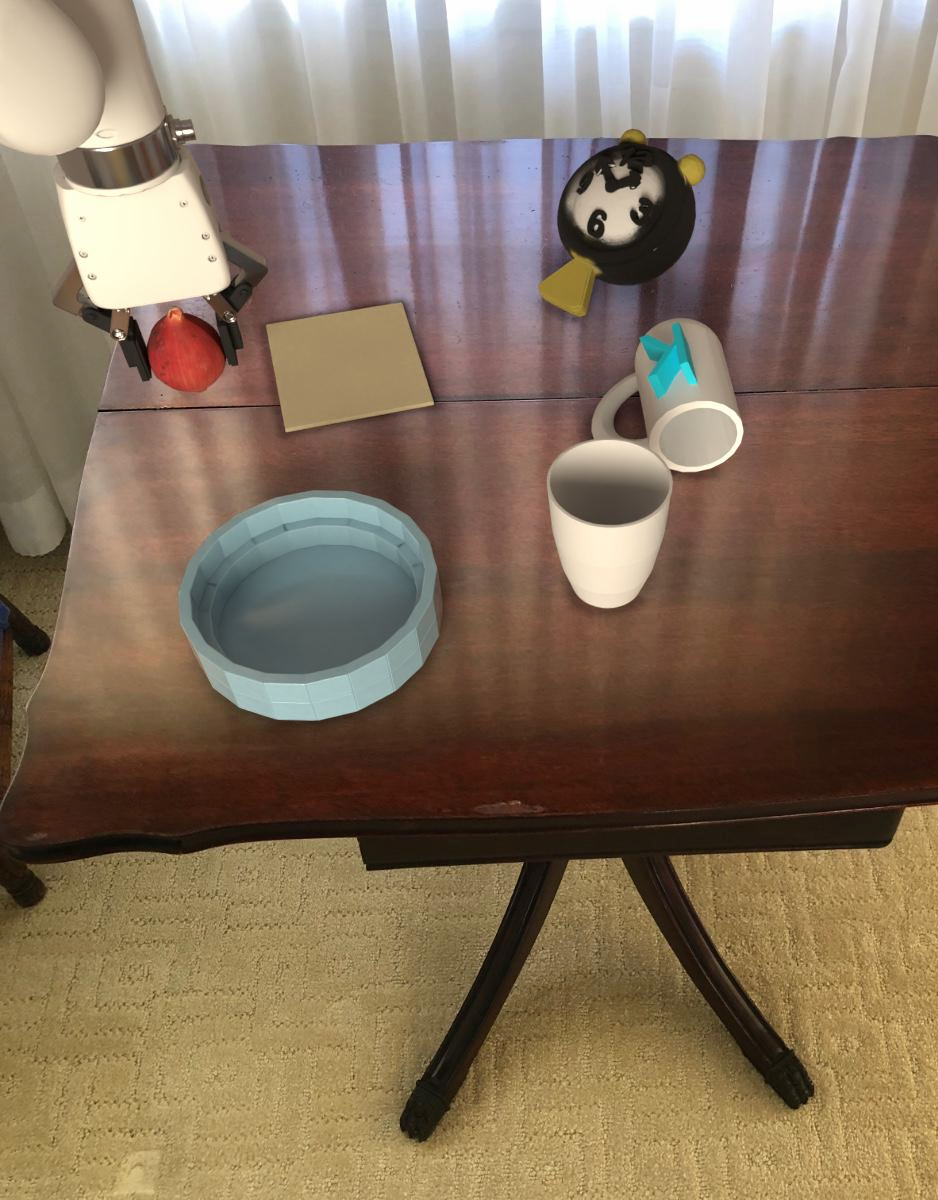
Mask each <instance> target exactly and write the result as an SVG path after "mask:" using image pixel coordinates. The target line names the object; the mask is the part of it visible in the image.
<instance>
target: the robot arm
mask: <svg viewBox="0 0 938 1200" xmlns="http://www.w3.org/2000/svg"><path fill="white" fill-rule="evenodd" d="M153 67H154V66H153V64H152V60H151V57H150V54H149V50H148V47H147V43H146V40H145V36H144V34H143V30H142V27H141V23H140V20H139V17H138V13H137V10H136V7H135V3H134V0H0V145H2V146H5V147H7V148H10V149H12V150H15V151H18V152H21V153H23V154H26V155H27V154H28V155H33V156H44V157H49V156H56V159H57V163H56V164H55V165H54V167H53V177H54V185H55V188H56V193H57V199H58V204H59V208H60V212H61V213H60V214H61V217H62V220H63V224H64V228H65V232H66V235H67V238H68V241H69V244H70V245H69V246H70V248H71V251H72V254H73V257H72V258H71V261H70V262H69V264H68V266H67V267H66V269H64V272H62V274H61V276H60V278H59V279H58V281H57V282H56V283H55V285H54V287H52V290H51V294H52V295H51V302H52V303H51V304H52V305H53V306H54V307H56V308H58V309H60V310H62V311H65V312H67V313H69V314H70V315H73V316H75V317H80V318H82V321H84V323H86V324H89V325H91V326H93V327H94V328H95V327H96V328H97V329H99V330H101V331H104V332H106V333H108V334H109V335H110V338H111V339H112V340H114V341H116V342H118V343H119V347H120V348H121V349H120V350H121V351H122V353H123V356H124V358H125V361H126V364H127V366H128V368H129V369H130V368H137V371H138V374H139V377H140V379H141V382H143V383H144V382H150V380H151V379H153V375H152V373H153V372H152V369H151V367H150V364H149V361H148V357H147V352H146V350H147V343H146V341H145V339H144V337H143V334H142V332H141V328H140V325H139V323H138V319H136V318H135V319H134V315H131V308H137V307H144V306H150V305H156V304H162V303H170V302H175V301H181V300H187V299H194V298H199V297H200V298H201V297H202V298H203V300H204V301H205V302H206V303H207V304H208V305H209V307H211V309H212V310H213V311H214V315H215V323H216V328H217V332H218V334H219V336H220V338H221V342H222V345H223V348H224V351H225V355H226V362H227V365H228V366H231V367H236V366H239V358H238V353H237V351H238V350H243V349H245V345H244V340H243V337H242V333H241V330H240V326H239V323H238V313H239V312H241V310H242V308H243V307H244V306H245V304H246V303H247V302H248V301H249V299H250V298H251V297H252V295H253V291H254V290H255V289H256V288H257V287H258V286H259V285H260V284H261V283H262V282H263V280H264V279H265V277H267V275H268V274H269V266H268V261H267V258H266V257H264V256H263V255H261V254H260V253H258V252H256V251H254V250H253V249H251V248H250V247H249V246H247V245H244V244H243V243H241V242H240V241H238V240H237V239H234V238H233V237H231V236H230V235H228V234H227V233H225V232H223V229H222V226H221V224H220V220H219V217H218V214H217V211H216V208H215V206H214V202H213V200H212V197H211V194H210V192H209V189H208V186H207V184H206V182H205V179H204V177H203V175H202V173H201V171H200V168H199V165H198V164H197V162H196V160H195V158H194V156H193V154H192V152H191V151H190V149H189V147H187V146H186V142H191V141H196V140H197V136H196V131H195V128H194V123H193V119H191V118H188V119H181V120H180V118H174V117H173V114H172V113H170V114H169V113H168V111H167V106H166V105H165V104H164V101H163V98H162V95H161V91H160V88H159V84H158V80H157V77H156V74H155V70H154V68H153ZM229 263H231V264H233V265H234V266H236V267H238V268H240V269H241V270H240V272H239V273H237V274H236V275H235V276H234V277H233V278H232V276H231V271H230V269H231V268H230V264H229ZM83 287H84V289H85V291H86V293H87V295H88V297H87V296H86V295H85V294H83V293H81V290H82V289H83Z"/></svg>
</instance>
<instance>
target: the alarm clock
mask: <svg viewBox="0 0 938 1200" xmlns="http://www.w3.org/2000/svg"><path fill="white" fill-rule="evenodd" d="M706 170H707V167H706V164H705V161H704V160H703V159H702V158H701V157H700V156H698V155H697V154H694V153H688V154H684V155H683V156H682V157H680V158H679V160H678V159H675V157H674V156H673V155H672V154H670V153H668V152H667V151H666V150H663V149H661V148H659V147H656V146H652V145H649V144H648V138H647V136H646V135H645V134H644V132H643V131H642V130H640V129H638V128H629V129H627V130H625V131H624V132H623V134H621V137H620V138H619V140H618V144H615V145H613V146H609V147H606V148H604V149H602V150H600V151H597V152H596V153H595V154H594V155H592V156H590V157H589V158H588V159H585V161H584V162H583V163H582V164H580V166H579V167H577V169H576V170H575V171H574V172H573V173H572V174H571V176H570V177H569V179H568V181H567V183H566V184H565V186H564V188H563V190H562V193H561V196H560V198H559V201H558V202H559V203H558V207H557V215H556V219H557V220H556V225H557V226H556V227H557V231H558V236H559V240H560V242H561V244H562V246H563V248H564V250H566V252H567V254H568V255H569V256H570V258H571V260H570V261H568V262H567V263H566V264H564V265H563V266H561V267H560V268H559V269H557V270H556V271H555V272H553V273H552V274H551V275H549V276H548V277H546V278H545V279H544V280H542V281H541V282H540V283H539V284H538V285H537V290H538V292H539V294H540V296H541V297H542V299H544V300H545V301H546V302H548V303H549V304H551V305H553V306H555V307H557V308H559V309H561V310H563V311H565V312H567V313H569V314H571V315H573V316H576V317H584V316H586V315H587V314H588V310H589V307H590V302H591V297H592V294H593V290H594V289H593V288H594V285H595V280H596V279H597V280H599V281H600V282H601V281H602V282H603V283H606V284H610V285H616V286H636V285H641V284H644V283H647V282H650V281H652V280H654V279H657V278H658V277H660V276H662V275H664V274H665V273H666V272H668V271H669V270H670V269H671V268H672V267H673V266H674V265H675V264H676V263H677V262H678V261H679V260H680V259H681V258H682V256H683V254H684V253H685V252H686V249H687V248H688V246H689V244H690V242H691V240H692V236H693V233H694V230H695V225H696V218H697V205H696V204H697V203H696V197H695V196H696V195H695V192H694V188H693V187H695V186H697V185H698V184H700V183H701V182H702V180H703V179H704V178H705V175H706Z"/></svg>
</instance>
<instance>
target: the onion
mask: <svg viewBox="0 0 938 1200" xmlns="http://www.w3.org/2000/svg"><path fill="white" fill-rule="evenodd" d="M146 347H147V350H146V352H147V357H148V361H149V364H150V367H151V372H152V373H153V375H154V376H155V378H156V379H157V380H159V381H160V382H161V383H162V384H164V385H165V386H167V387H169V388H171V390H175V391H179V392H186V393H197V394H198V393H201V394H202V393H204V392H206V391H207V390H208V388H209V387H211V386H213V385H214V384H215V383H216V382H217V381H218V380H219V378H220V377H221V376H222V375H223V374H224V371H225V367H226V364H227V363H226V362H227V358H226V355H225V351H224V348H223V345H222V342H221V338H220V335H219V332H218V330H216V328H215V327H214V326H213V325H212V324H210V323H209V322H208V321H206V320H204V319H203V318H201V317H199V316H197V315H194V314H191V313H188V312H184V311H183V309H182V307H180V306H179V305H178V306H177V305H173V306H171V307H170V309H169V310H167V312H166V314H165V315H164V316H162V317H161V318H160V319H159V320H158V321H156V322H155V324H154V325H153V327H152V328H151V330H150V333H149V336H148V339H147V342H146Z"/></svg>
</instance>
